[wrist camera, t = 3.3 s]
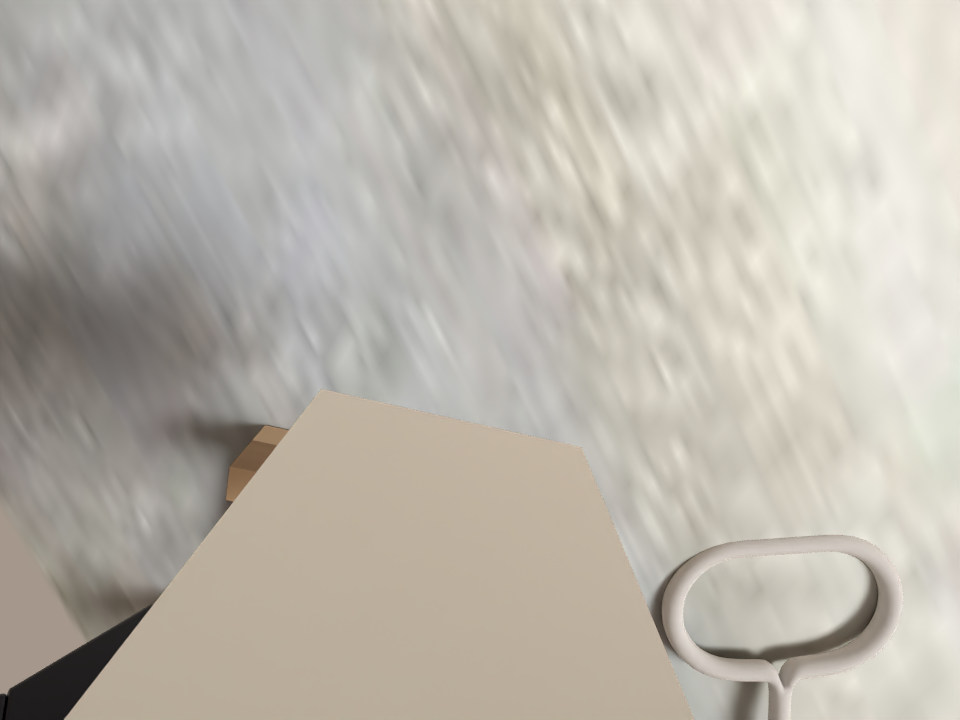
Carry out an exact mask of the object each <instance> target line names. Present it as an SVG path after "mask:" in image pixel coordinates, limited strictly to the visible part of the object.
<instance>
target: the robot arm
mask: <svg viewBox="0 0 960 720" xmlns="http://www.w3.org/2000/svg"><path fill="white" fill-rule="evenodd" d="M154 603H155V602H154ZM154 603H153V604H151V605H149V606H148V607H146V608H144V609H143V610H141V611H139V612H138V613H136V614H134V615H133V616H131V617H129V618H128V619H126V620H124V621H123V622H121V623H119V624H118V625H116V626H114V627H113V628H111V629H109V630H107V631H106V632H104V633H102V634H101V635H99V636H97V637H96V638H94V639H92V640H91V641H89V642H87V643H86V644H84V645H82V646H81V647H79V648H77V649H76V650H74V651H72V652H71V653H69V654H67V655H66V656H64V657H62V658H61V659H59V660H57V661H56V662H54V663H52V664H51V665H49V666H47V667H46V668H44V669H42V670H41V671H39V672H37V673H36V674H34V675H32V676H30V677H29V678H27V679H25V680H24V681H22V682H21V683H19V684H17V685H15V686H14V687H12V688H10V689H9V691H8V694H7V695H6V694H0V720H64V719H65V718H66V716H67V715H68V714H69V712H70V711H71V710H72V709H73V707H74V706H75V705H76V703H77V702H78V701H79V700H80V698H81V697H82V696H83V694H84V693H85V692H86V691H87V689H88V688H89V687H90V685H91V684H92V683H93V682H94V680H95V679H96V678H97V676H98V675H99V674H100V673H101V671H102V670H103V669H104V667H105V666H106V665H107V664H108V662H109V661H110V660H111V658H112V657H113V656H114V655H115V653H116V652H117V651H118V650H119V648H120V647H121V646H122V644H123V643H124V642H125V641H126V639H127V638H128V637H129V635H130V634H131V633H132V632H133V630H134V629H135V628H136V626H137V625H138V624H139V623H140V621H141V620H142V619H143V617H144V616H145V615H146V614H147V612H148V611H149V610H150V608H151V607H152V606H153V605H154Z"/></svg>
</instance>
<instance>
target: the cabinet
mask: <svg viewBox="0 0 960 720" xmlns="http://www.w3.org/2000/svg"><path fill="white" fill-rule="evenodd" d="M64 720H694V717H693V715H692V713H691V710H690V708H689V705H688V703H687V701H686V698H685V696H684V693H683V691H682V689H681V686H680V684H679V681H678V679H677V677H676V674H675V672H674V669H673V667H672V664H671V662H670V660H669V657H668V655H667V652H666V650H665V648H664V645H663V643H662V640H661V638H660V636H659V633H658V631H657V628H656V626H655V623H654V621H653V619H652V616H651V614H650V611H649V609H648V607H647V604H646V602H645V599H644V597H643V595H642V592H641V590H640V587H639V585H638V583H637V580H636V578H635V575H634V573H633V570H632V568H631V566H630V563H629V561H628V558H627V556H626V554H625V551H624V549H623V546H622V544H621V542H620V539H619V537H618V534H617V532H616V530H615V527H614V525H613V522H612V520H611V517H610V515H609V513H608V510H607V508H606V505H605V503H604V501H603V498H602V496H601V493H600V491H599V489H598V486H597V484H596V481H595V479H594V476H593V474H592V472H591V469H590V467H589V464H588V462H587V460H586V457H585V455H584V452H583V450H582V448H581V447H578V446H574V445H569V444H565V443H560V442H556V441H551V440H547V439H542V438H538V437H533V436H529V435H524V434H520V433H516V432H511V431H507V430H502V429H498V428H493V427H489V426H484V425H480V424H475V423H471V422H466V421H462V420H457V419H453V418H449V417H444V416H440V415H435V414H431V413H426V412H422V411H417V410H413V409H408V408H404V407H399V406H395V405H391V404H386V403H382V402H377V401H373V400H368V399H364V398H359V397H355V396H350V395H346V394H341V393H337V392H332V391H328V390H324V389H321V390H320V391H319V392H318V394H317V395H316V396H315V398H314V399H313V400H312V401H311V403H310V404H309V405H308V407H307V408H306V409H305V410H304V412H303V413H302V414H301V416H300V417H299V418H298V419H297V421H296V422H295V423H294V425H293V426H292V427H291V428H290V430H289V431H288V432H287V434H286V435H285V436H284V437H283V439H282V440H281V441H280V443H279V444H278V445H277V446H276V448H275V449H274V450H273V452H272V453H271V454H270V455H269V457H268V458H267V459H266V461H265V462H264V463H263V464H262V466H261V467H260V468H259V470H258V471H257V472H256V473H255V475H254V476H253V477H252V479H251V480H250V481H249V482H248V484H247V485H246V486H245V488H244V489H243V490H242V491H241V493H240V494H239V495H238V497H237V498H236V499H235V500H234V502H233V503H232V504H231V506H230V507H229V508H228V509H227V511H226V512H225V513H224V515H223V516H222V517H221V518H220V520H219V521H218V522H217V524H216V525H215V526H214V527H213V529H212V530H211V531H210V533H209V534H208V535H207V536H206V538H205V539H204V540H203V542H202V543H201V544H200V545H199V547H198V548H197V549H196V551H195V552H194V553H193V554H192V556H191V557H190V558H189V560H188V561H187V562H186V563H185V565H184V566H183V567H182V569H181V570H180V571H179V572H178V574H177V575H176V576H175V578H174V579H173V580H172V581H171V583H170V584H169V585H168V587H167V588H166V589H165V590H164V592H163V593H162V594H161V596H160V597H159V598H158V599H157V601H156V602H155V603H154V605H153V606H152V607H151V608H150V610H149V611H148V612H147V614H146V615H145V616H144V617H143V619H142V620H141V621H140V623H139V624H138V625H137V626H136V628H135V629H134V630H133V632H132V633H131V634H130V635H129V637H128V638H127V639H126V641H125V642H124V643H123V644H122V646H121V647H120V648H119V650H118V651H117V652H116V653H115V655H114V656H113V657H112V658H111V660H110V661H109V662H108V664H107V665H106V666H105V667H104V669H103V670H102V671H101V673H100V674H99V675H98V676H97V678H96V679H95V680H94V682H93V683H92V684H91V685H90V687H89V688H88V689H87V691H86V692H85V693H84V694H83V696H82V697H81V698H80V700H79V701H78V702H77V703H76V705H75V706H74V707H73V709H72V710H71V711H70V712H69V714H68V715H67V716H66V718H65V719H64Z"/></svg>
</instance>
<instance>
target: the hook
mask: <svg viewBox="0 0 960 720" xmlns="http://www.w3.org/2000/svg"><path fill="white" fill-rule="evenodd" d="M812 552H841V553H847V554H849V555H852V556H855V557H856V558H858V559H860V560H861V561H862V562H864V563H865V564H866V565H867V566H868V567H869V568H870V570H871V571H872V572H873V574H874V577H875V579H876V582H877V586H878V602H877V607H876V610H875V613H874V615H873V617H872V619H871V621H870V623H869V624H868V625H867V627H866V628H865V629H864V631H863V632H862V633H861V634H860V635H858V636H857V637H856V638H855V639H854V640H852V641H851V642H849V643H848V644H846V645H844V646H842V647H840V648H838V649H835V650H831V651H828V652H823V653H819V654H812V655H805V656H797V657H792V658H789V659H788V660H787V661H786V662H785V663H784V664H783V666H782V667H781V670H780V673H779V674H778V672H777V671H776V669H775V668H774V667H773V666H772V665H771V664H770V663H769V662H768V661H766V660H761V659H730V658H723V657H718V656H715V655H712V654H709V653H707V652H706V651H704V650H702V649H701V648H699V647H698V646H697V645H696V644H695V643H694V642H693V641H692V640H691V639H690V637H689V635H688V633H687V631H686V629H685V626H684V622H683V606H684V602H685V599H686V596H687V594H688V592H689V589H690V588H691V586H692V585H693V583H694V582H695V581H696V579H697V578H698V577H699V576H700V575H701V574H702V573H704V572H705V571H706V570H708V569H709V568H711V567H712V566H714V565H716V564H718V563H720V562H723V561H726V560H729V559H733V558H740V557H753V556H768V555H783V554H798V553H812ZM902 607H903V590H902V585H901V581H900V577H899V575H898V573H897V571H896V569H895V567H894V565H893V564H892V562H891V561H890V560H889V558H888V557H887V556H886V555H885V554H884V553H883V552H882V551H881V550H880V549H879V548H878V547H876V546H875V545H873V544H871V543H869V542H868V541H866V540H863V539H860V538H856V537H852V536H845V535H819V536H805V537H790V538H776V539H761V540H747V541H737V542H730V543H725V544H721V545H718V546H714V547H712V548H710V549H707V550H705V551H703V552H701V553H699V554H698V555H696V556H694V557H693V558H691V559H690V560H688V561H687V562H686V563H685V564H684V565H683V566H681V567H680V568H679V569H678V571H677V572H676V573H675V574H674V575H673V577H672V578H671V580H670V582H669V583H668V585H667V587H666V590H665V593H664V596H663V600H662V619H663V626H664V629H665V632H666V635H667V638H668V640H669V642H670V644H671V645H672V647H673V649H674V650H675V651H676V652H677V653H678V655H679V656H680V657H681V658H682V659H683V660H684V661H685V662H686V663H687V664H689V665H690V666H691V667H692V668H694V669H696V670H698V671H700V672H701V673H703V674H706V675H709V676H712V677H714V678H719V679H724V680H730V681H763V682H768V684H769V686H768V687H769V709H768V720H790V715H791V693H792V690H793V687H794V685H795V684H796V683H797V681H799V680H802V679H807V678H815V677H823V676H829V675H834V674H838V673H842V672H845V671H848V670H851V669H854V668H856V667H858V666H860V665H862V664H864V663H865V662H867V661H868V660H870V659H871V658H873V657H874V656H875V655H876V654H877V653H878V652H879V651H881V650H882V649H883V648H884V646H885V645H886V644H887V643H888V641H889V640H890V639H891V637H892V636H893V634H894V632H895V630H896V628H897V626H898V623H899V621H900V618H901V614H902Z"/></svg>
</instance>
